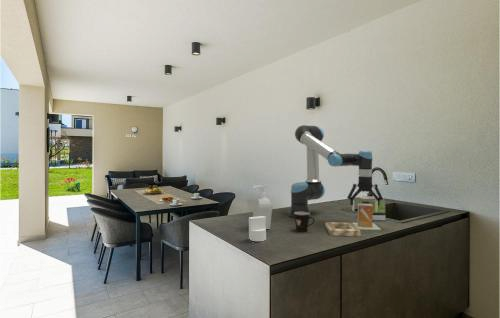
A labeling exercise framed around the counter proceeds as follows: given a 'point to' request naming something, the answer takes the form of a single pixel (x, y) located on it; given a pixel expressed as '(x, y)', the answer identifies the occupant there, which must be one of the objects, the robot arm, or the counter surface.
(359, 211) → the small box
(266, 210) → the soap bottle
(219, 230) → the counter surface
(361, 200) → the tea box
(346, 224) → the pocket block
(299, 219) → the coffee mug
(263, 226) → the base with upright slab
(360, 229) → the sage pad
